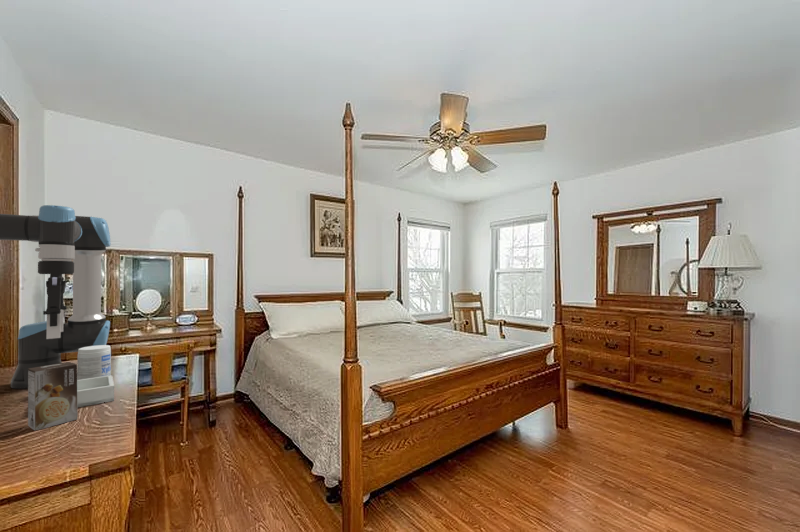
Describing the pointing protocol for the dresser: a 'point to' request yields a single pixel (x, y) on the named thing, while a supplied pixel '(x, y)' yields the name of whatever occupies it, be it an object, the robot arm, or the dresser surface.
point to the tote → (95, 390)
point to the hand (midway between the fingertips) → (55, 335)
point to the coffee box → (52, 395)
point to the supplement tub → (94, 361)
